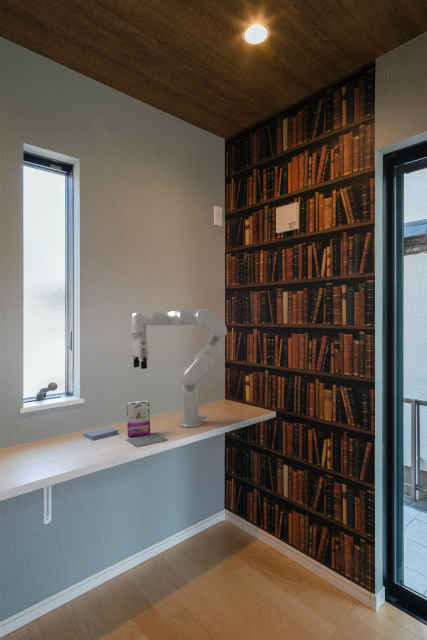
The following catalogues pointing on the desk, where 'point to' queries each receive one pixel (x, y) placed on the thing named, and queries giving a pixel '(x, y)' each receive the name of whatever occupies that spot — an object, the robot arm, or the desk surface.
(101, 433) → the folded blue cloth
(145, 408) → the candy bar box
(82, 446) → the desk surface
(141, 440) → the mat
